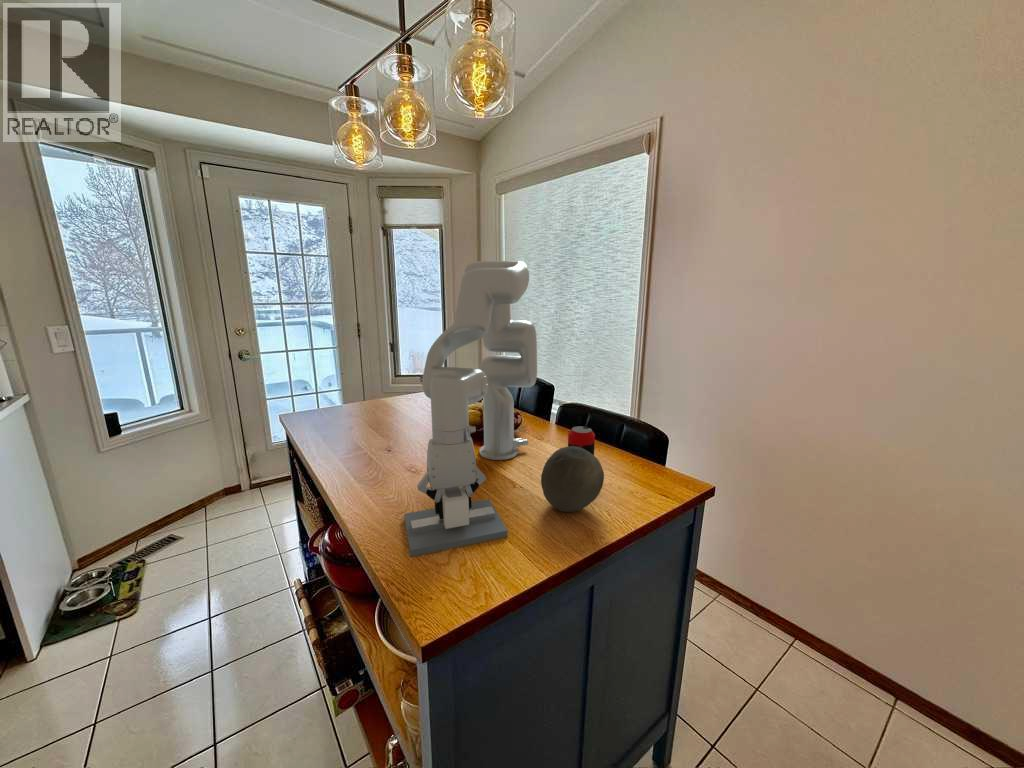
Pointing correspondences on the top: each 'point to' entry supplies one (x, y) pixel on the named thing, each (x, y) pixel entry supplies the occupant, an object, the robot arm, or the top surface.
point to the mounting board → (453, 532)
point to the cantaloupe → (571, 479)
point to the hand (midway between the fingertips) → (453, 512)
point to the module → (455, 507)
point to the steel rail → (438, 523)
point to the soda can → (582, 438)
